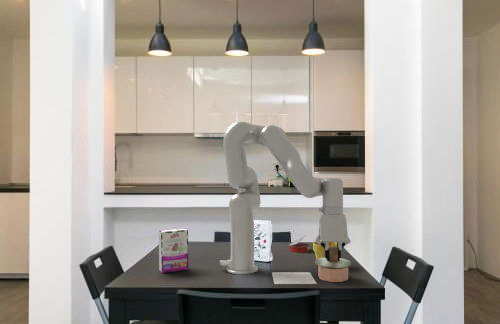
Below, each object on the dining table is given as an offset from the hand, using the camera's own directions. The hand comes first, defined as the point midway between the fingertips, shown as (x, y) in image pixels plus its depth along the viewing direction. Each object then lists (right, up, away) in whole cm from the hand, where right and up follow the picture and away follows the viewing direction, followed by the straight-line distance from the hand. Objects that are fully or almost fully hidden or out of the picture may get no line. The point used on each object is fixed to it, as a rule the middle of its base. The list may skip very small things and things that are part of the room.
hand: (332, 259), depth 146 cm
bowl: (0, -7, 0) cm, 7 cm away
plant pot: (+1, -8, +19) cm, 20 cm away
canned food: (-6, -8, +50) cm, 51 cm away
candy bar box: (-62, -8, +12) cm, 64 cm away
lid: (0, -1, 0) cm, 1 cm away
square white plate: (-15, -7, 0) cm, 17 cm away
